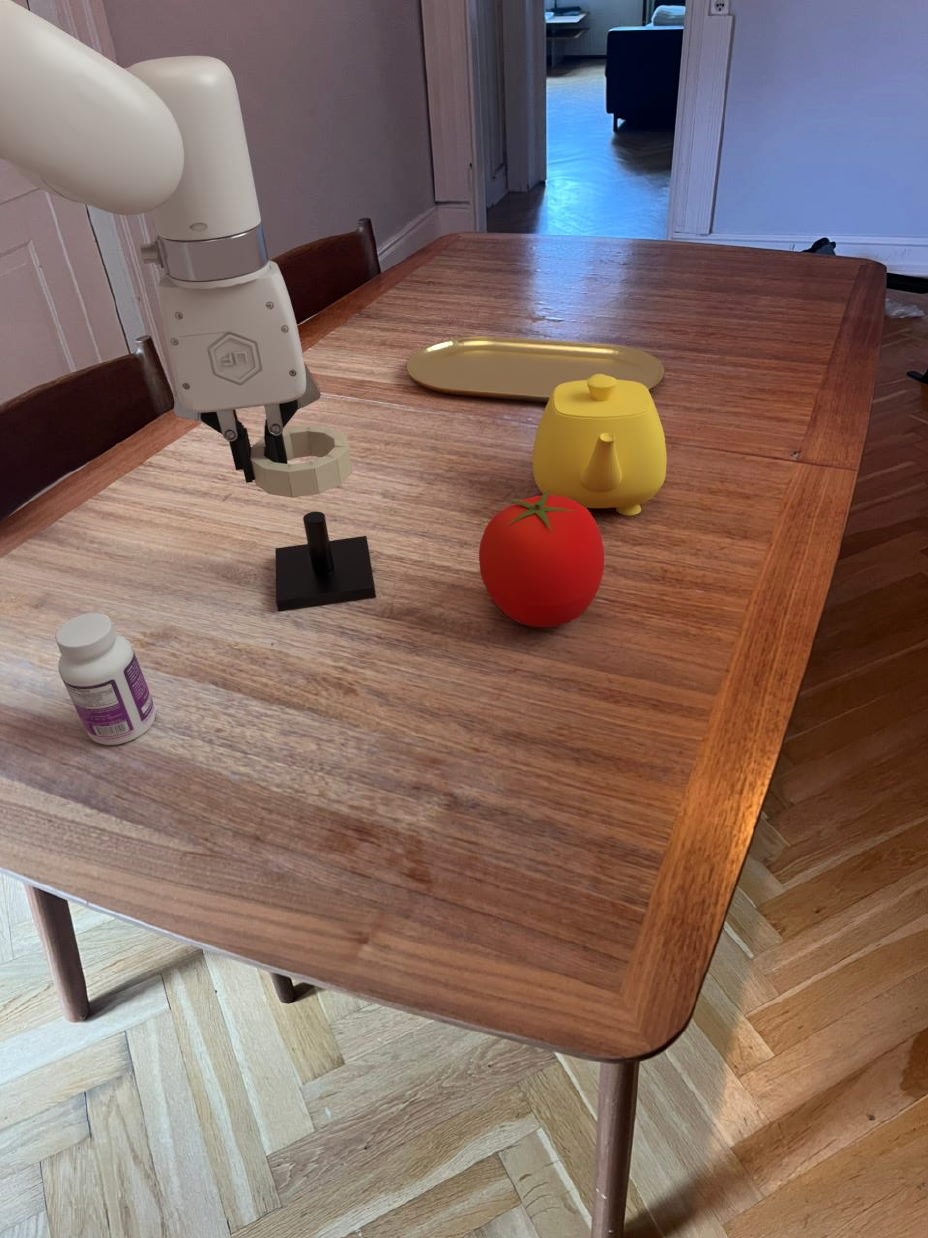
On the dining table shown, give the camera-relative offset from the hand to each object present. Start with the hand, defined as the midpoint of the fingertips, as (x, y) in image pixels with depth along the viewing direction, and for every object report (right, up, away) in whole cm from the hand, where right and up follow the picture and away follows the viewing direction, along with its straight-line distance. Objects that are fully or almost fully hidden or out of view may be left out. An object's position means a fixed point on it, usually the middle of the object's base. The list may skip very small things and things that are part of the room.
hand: (263, 472), depth 77 cm
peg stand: (+4, -9, +8) cm, 12 cm away
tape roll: (+3, 0, +1) cm, 3 cm away
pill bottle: (-10, -21, -7) cm, 24 cm away
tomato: (+25, -12, +2) cm, 27 cm away
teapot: (+32, -1, +16) cm, 35 cm away
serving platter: (+27, +20, +43) cm, 54 cm away
